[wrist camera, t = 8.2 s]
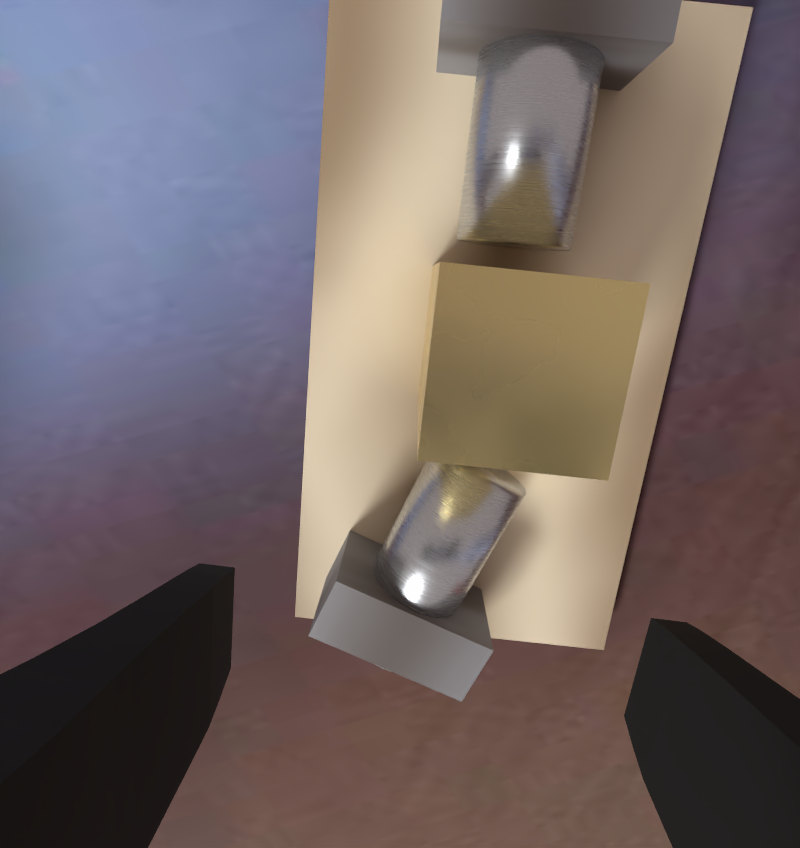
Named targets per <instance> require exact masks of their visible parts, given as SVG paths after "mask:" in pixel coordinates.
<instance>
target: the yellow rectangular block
mask: <svg viewBox="0 0 800 848" xmlns="http://www.w3.org/2000/svg"><path fill="white" fill-rule="evenodd" d="M649 289H650V283H641V282H631V281H621V280H612V279H602V278H592V277H583V276H573V275H563V274H554V273H544V272H534V271H525V270H515V269H505V268H496V267H486V266H476V265H467V264H457V263H447V262H439V263H437V264H435V265H434V266H433V267H432V276H431V285H430V294H429V303H428V312H427V321H426V330H425V339H424V348H423V357H422V366H421V375H420V384H419V393H418V438H417V461H426V462H436V463H445V464H455V465H464V466H474V467H483V468H493V469H502V470H511V471H521V472H530V473H540V474H549V475H559V476H568V477H578V478H587V479H597V480H606V481H608V479H609V475H610V470H611V466H612V461H613V456H614V452H615V447H616V442H617V438H618V433H619V428H620V424H621V419H622V414H623V410H624V405H625V401H626V396H627V391H628V387H629V382H630V377H631V373H632V368H633V363H634V359H635V354H636V349H637V345H638V340H639V336H640V331H641V326H642V322H643V317H644V312H645V308H646V303H647V298H648V294H649Z"/></svg>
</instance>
